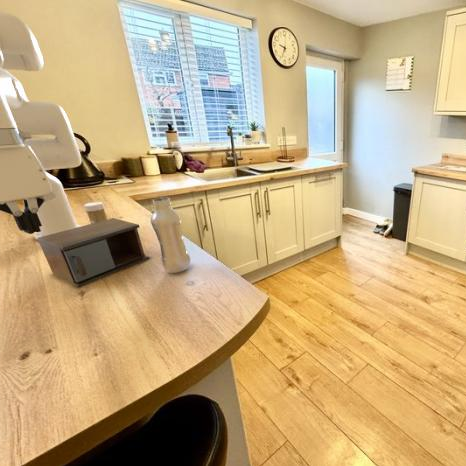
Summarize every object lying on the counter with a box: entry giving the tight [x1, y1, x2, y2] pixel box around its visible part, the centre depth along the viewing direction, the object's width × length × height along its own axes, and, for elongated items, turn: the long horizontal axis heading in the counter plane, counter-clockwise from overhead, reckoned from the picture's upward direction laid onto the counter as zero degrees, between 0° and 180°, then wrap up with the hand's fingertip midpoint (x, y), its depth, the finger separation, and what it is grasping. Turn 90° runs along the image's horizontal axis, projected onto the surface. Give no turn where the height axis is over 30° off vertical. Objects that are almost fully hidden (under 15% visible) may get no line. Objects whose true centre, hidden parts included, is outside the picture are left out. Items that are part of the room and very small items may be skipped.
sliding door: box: [63, 239, 115, 282], centre depth 72 cm, size 4×8×8 cm, turn 154°
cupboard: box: [37, 217, 150, 288], centre depth 78 cm, size 13×17×11 cm
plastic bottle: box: [150, 196, 191, 274], centre depth 75 cm, size 6×7×20 cm
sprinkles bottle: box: [83, 201, 108, 224], centre depth 92 cm, size 5×5×13 cm
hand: (32, 231), depth 60 cm, fingers closed
